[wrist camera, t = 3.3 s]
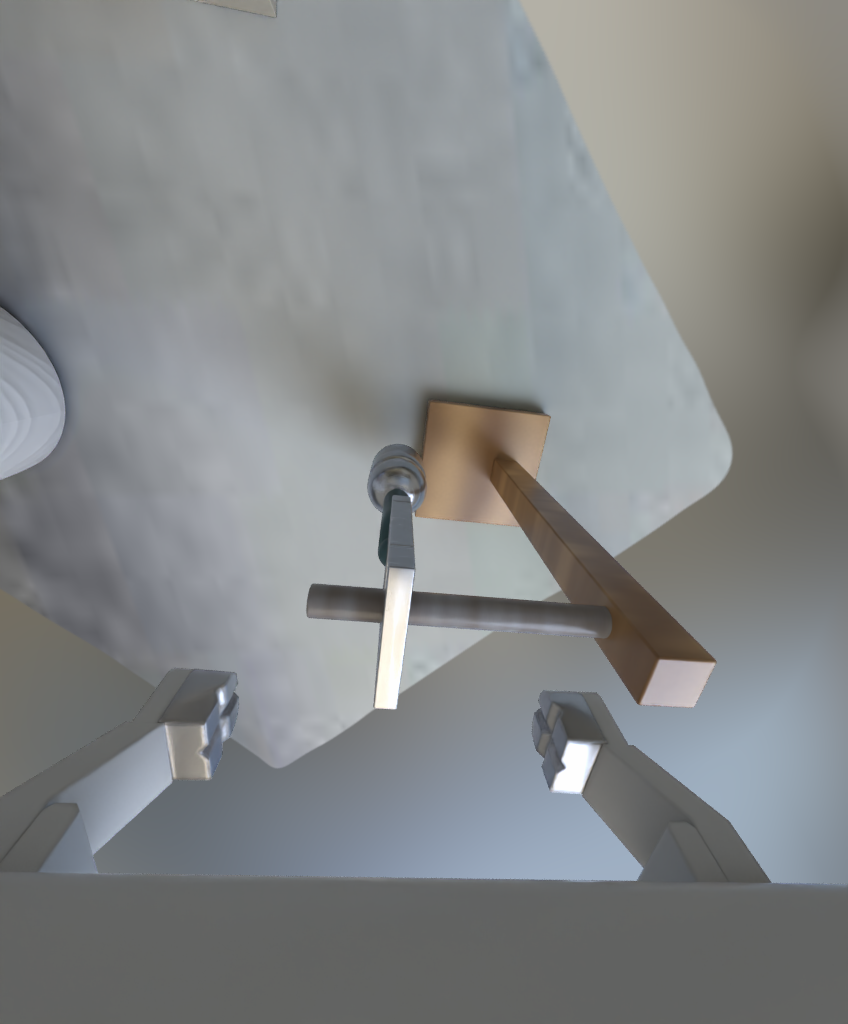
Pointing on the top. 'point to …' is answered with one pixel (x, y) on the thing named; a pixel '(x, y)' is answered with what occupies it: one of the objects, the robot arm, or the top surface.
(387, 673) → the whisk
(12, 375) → the vase
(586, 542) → the hook stand
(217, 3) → the hot plate
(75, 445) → the top surface
